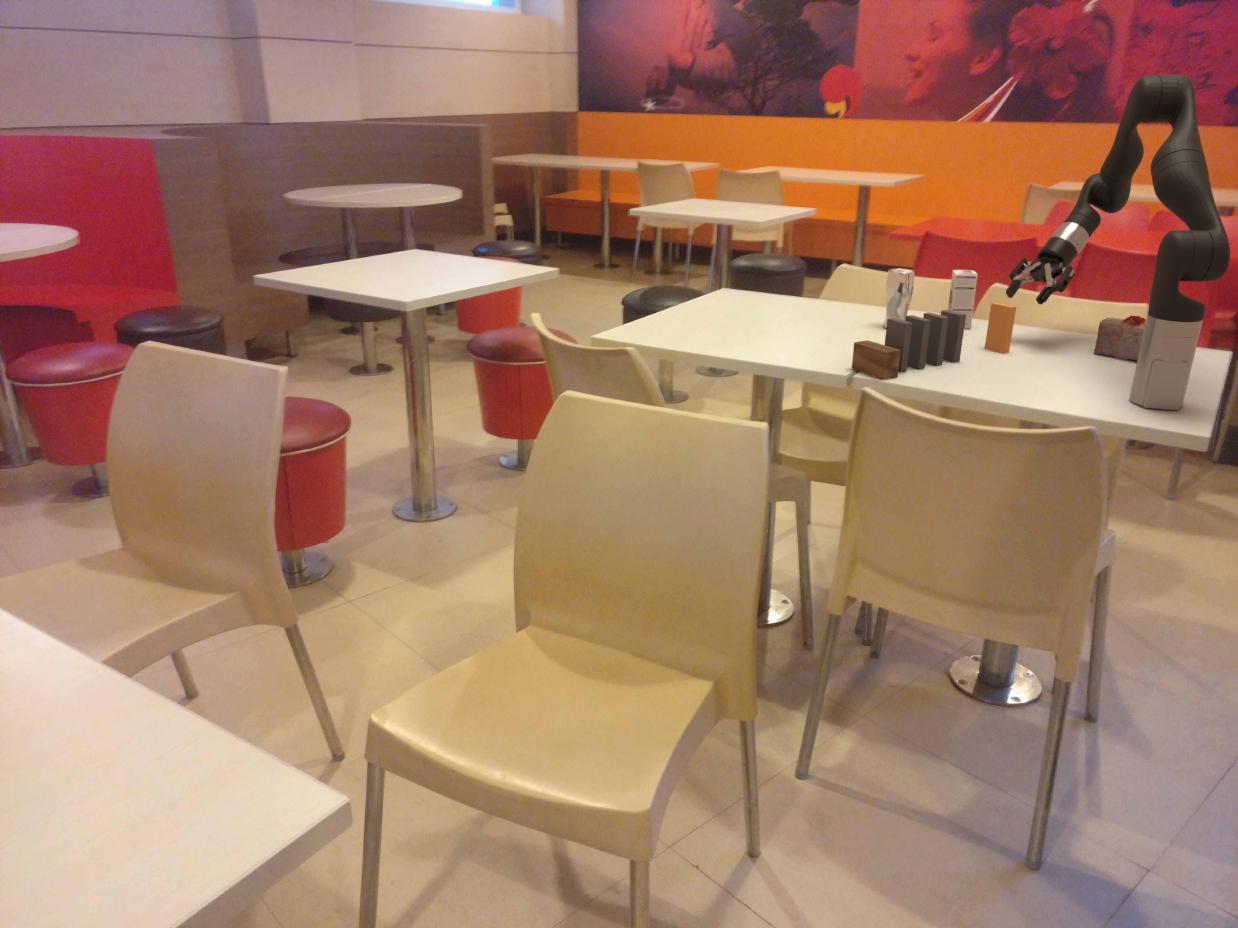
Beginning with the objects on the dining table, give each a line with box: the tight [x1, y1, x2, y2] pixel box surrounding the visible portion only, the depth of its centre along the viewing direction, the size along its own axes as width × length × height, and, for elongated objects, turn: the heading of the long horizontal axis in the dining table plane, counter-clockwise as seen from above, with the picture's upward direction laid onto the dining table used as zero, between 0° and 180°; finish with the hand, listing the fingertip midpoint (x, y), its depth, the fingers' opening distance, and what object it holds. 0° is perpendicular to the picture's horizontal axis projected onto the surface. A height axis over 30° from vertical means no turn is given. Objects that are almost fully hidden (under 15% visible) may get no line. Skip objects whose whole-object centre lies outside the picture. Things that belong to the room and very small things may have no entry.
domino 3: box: [922, 312, 949, 367], centre depth 203 cm, size 2×6×11 cm, turn 28°
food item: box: [1093, 314, 1147, 362], centre depth 207 cm, size 14×8×10 cm, turn 45°
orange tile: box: [984, 301, 1017, 355], centre depth 213 cm, size 2×6×11 cm, turn 28°
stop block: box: [851, 339, 901, 380], centre depth 197 cm, size 4×10×6 cm, turn 28°
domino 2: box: [905, 314, 931, 370], centre depth 201 cm, size 2×6×11 cm, turn 28°
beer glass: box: [882, 268, 915, 330], centre depth 234 cm, size 7×7×15 cm
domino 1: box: [884, 318, 912, 374], centre depth 199 cm, size 2×6×11 cm, turn 29°
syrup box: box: [947, 269, 978, 330], centre depth 235 cm, size 6×6×14 cm
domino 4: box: [940, 309, 966, 364], centre depth 206 cm, size 2×6×11 cm, turn 29°
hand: (1023, 299), depth 214 cm, fingers open, 8 cm apart
